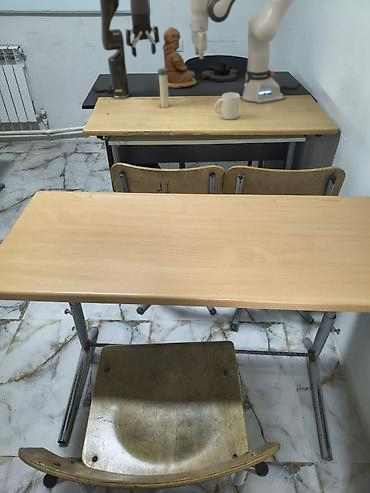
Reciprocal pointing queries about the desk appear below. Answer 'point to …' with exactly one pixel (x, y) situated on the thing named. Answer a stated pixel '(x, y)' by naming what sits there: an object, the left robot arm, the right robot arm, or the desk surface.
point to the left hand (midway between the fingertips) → (144, 55)
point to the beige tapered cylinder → (164, 90)
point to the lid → (163, 71)
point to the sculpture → (175, 61)
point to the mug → (229, 105)
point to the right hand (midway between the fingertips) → (199, 56)
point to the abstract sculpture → (220, 73)
